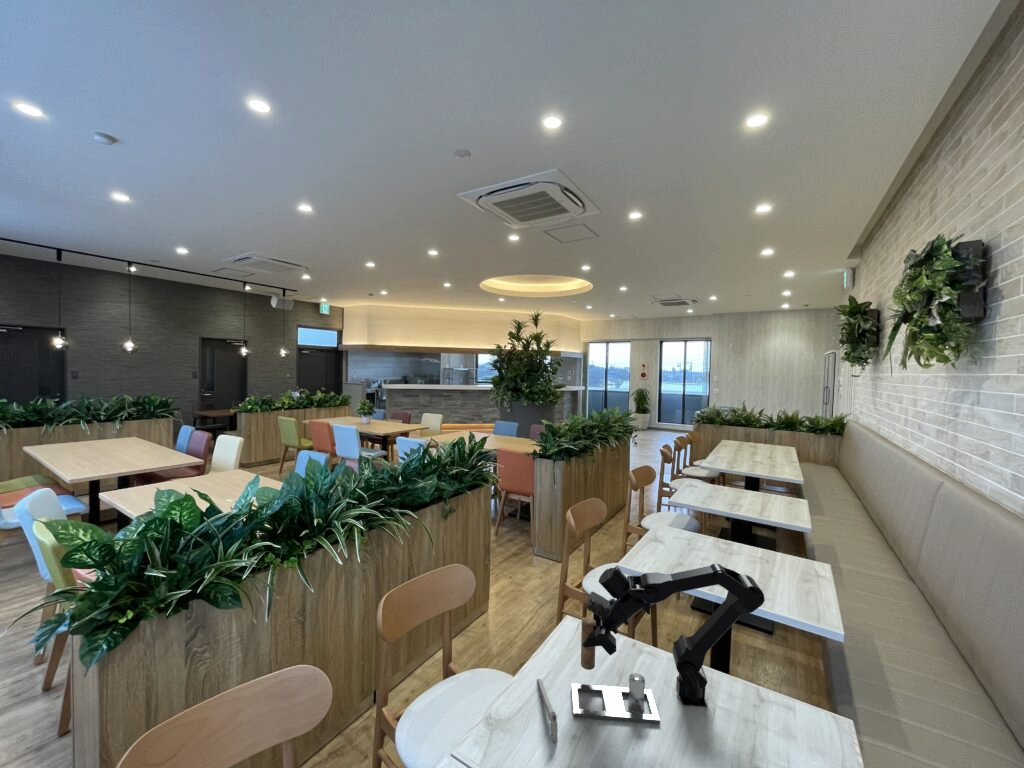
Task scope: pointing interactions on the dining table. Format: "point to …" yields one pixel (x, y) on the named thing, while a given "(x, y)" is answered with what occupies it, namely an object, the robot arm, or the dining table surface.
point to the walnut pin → (587, 652)
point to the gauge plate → (613, 705)
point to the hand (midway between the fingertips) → (583, 640)
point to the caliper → (549, 711)
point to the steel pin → (636, 692)
